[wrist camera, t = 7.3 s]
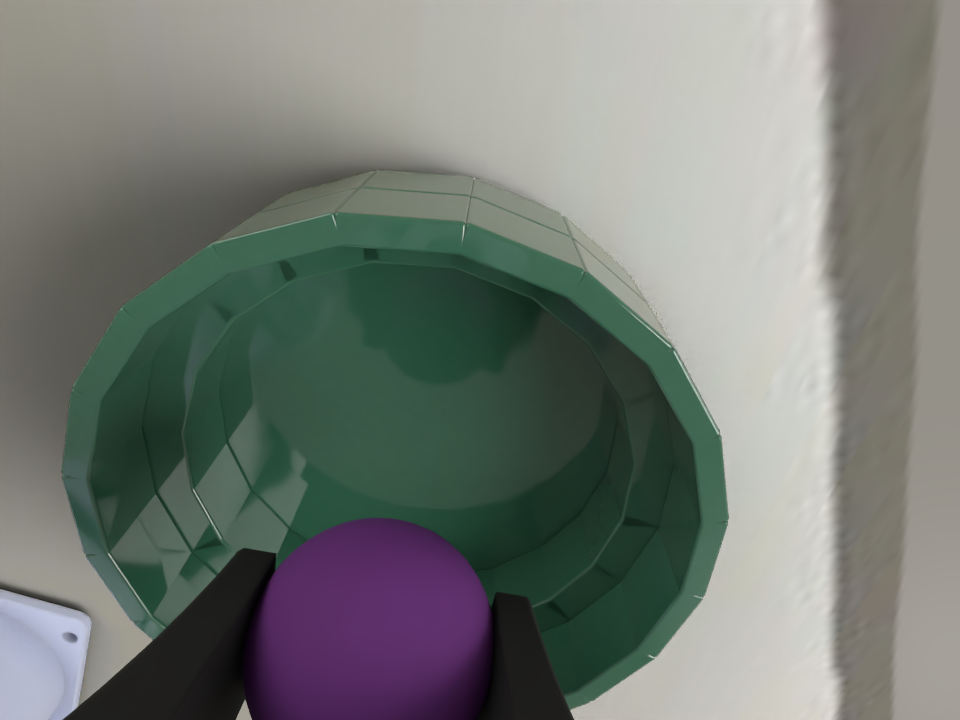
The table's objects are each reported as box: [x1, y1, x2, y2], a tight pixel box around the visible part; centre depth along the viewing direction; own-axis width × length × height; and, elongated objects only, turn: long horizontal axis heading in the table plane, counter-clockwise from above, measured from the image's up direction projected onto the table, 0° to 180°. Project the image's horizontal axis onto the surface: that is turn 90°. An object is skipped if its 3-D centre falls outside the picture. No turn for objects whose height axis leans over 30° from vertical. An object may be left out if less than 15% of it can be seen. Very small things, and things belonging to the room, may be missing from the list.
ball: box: [242, 518, 494, 720], centre depth 11 cm, size 4×4×4 cm
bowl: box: [61, 170, 729, 710], centre depth 16 cm, size 14×14×5 cm
